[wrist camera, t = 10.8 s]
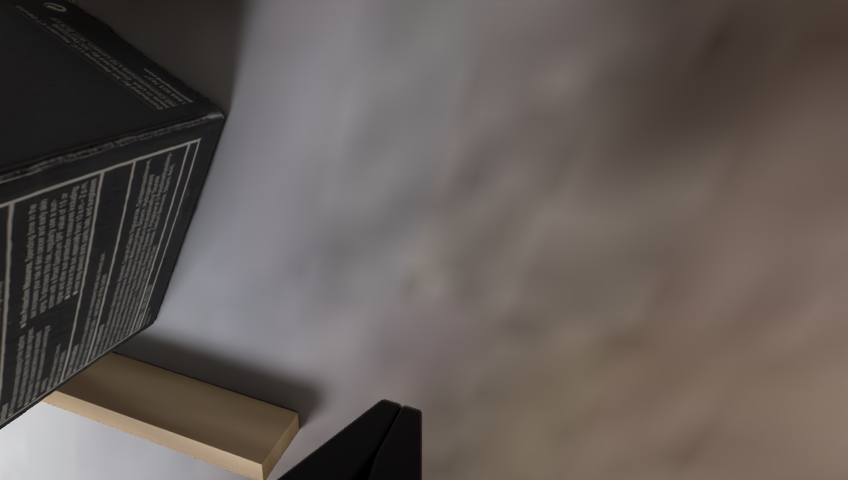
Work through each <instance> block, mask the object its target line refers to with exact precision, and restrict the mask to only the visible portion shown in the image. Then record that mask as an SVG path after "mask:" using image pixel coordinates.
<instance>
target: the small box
mask: <svg viewBox="0 0 848 480" xmlns="http://www.w3.org/2000/svg"><path fill="white" fill-rule="evenodd" d="M223 122H224V116H223V114H222V113H221V111H220V110H219V109H218V108H217V107H216V106H215V105H213V104H212V103H211V102H210V101H209V100H208V99H207V98H205V97H203V96H201V95H200V94H199V93H195V92H194V91H192V90H191V89H189V88H188V87H186V86H185V85H184V84H183V83H182V81H180V80H177V79H175V78H174V77H173V76H171V75H170V74H168V73H167V72H166V71H164V70H163V69H161V68H160V67H159V66H157V65H156V64H155V63H153V62H152V61H150V60H149V59H148V58H146V57H145V56H143V55H142V54H141V53H139V52H138V51H137V50H135V49H134V48H133V47H132V46H130V45H129V44H127V43H126V42H124V41H123V40H122V39H120V38H119V37H117V36H116V35H115V34H113V33H112V32H111V31H110V30H109V29H108V28H107V26H106V25H104V24H101V23H100V22H99V21H97V20H96V19H94V18H92V17H91V16H89V15H88V14H86V13H85V12H83V11H82V10H80V9H78V8H76V7H75V6H74V5H72V4H71V3H69V2H68V1H66V0H0V429H2V428H3V427H5V426H6V425H7V424H9V423H10V422H12V421H13V420H15V419H16V418H18V417H19V416H20V415H22V414H23V413H25V412H26V411H27V410H29V409H30V408H31V407H33V406H34V405H36V404H37V403H39V402H40V401H41V400H43V399H44V398H46V397H47V396H49V395H50V394H52V393H53V392H54V391H56V390H57V389H59V388H60V387H62V386H63V385H65V384H66V383H67V382H69V381H70V380H71V379H72V378H74V377H75V376H77V375H78V374H80V373H81V372H83V371H84V370H86V369H87V368H89V367H90V366H91V365H93V364H94V363H96V362H97V361H98V360H100V359H101V358H102V357H104V356H106V355H107V354H109V353H110V352H111V351H113V350H115V349H116V348H117V347H119V346H120V345H122V344H124V343H125V342H127V341H128V340H129V339H131V338H132V337H134V336H135V335H137V334H138V333H140V332H141V331H143V330H145V329H146V328H148V327H149V326H151V325H152V324H153V323H154V321H155V317H156V314H157V312H158V309H159V306H160V304H161V301H162V298H163V295H164V292H165V289H166V286H167V284H168V281H169V278H170V275H171V272H172V269H173V266H174V263H175V260H176V258H177V255H178V252H179V249H180V246H181V243H182V240H183V237H184V234H185V231H186V229H187V226H188V223H189V220H190V217H191V214H192V212H193V209H194V206H195V202H196V200H197V197H198V194H199V191H200V188H201V185H202V182H203V180H204V177H205V174H206V171H207V168H208V166H209V162H210V159H211V156H212V153H213V151H214V147H215V144H216V142H217V138H218V135H219V132H220V129H221V126H222V124H223Z"/></svg>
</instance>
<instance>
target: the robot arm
mask: <svg viewBox="0 0 848 480" xmlns="http://www.w3.org/2000/svg"><path fill="white" fill-rule="evenodd" d="M277 480H422V412H421V411H420V410H419V409H416V408H412V407H409V406H403V407H402V406H401V405H400V404H399V403H396V402H393V401H389V400H386V399H384V400H381V401H379V402H378V403H377V404H375V405H374V406H373V407H371V408H370V409H369V410H367V411H366V412H365V413H364V414H362V415H361V416H360V417H358V418H357V419H356V420H354V421H353V422H352V423H350V424H349V425H348V426H347V427H345V428H344V429H343V430H341V431H340V432H339V433H337V434H336V435H335V436H333V437H332V438H331V439H330V440H328V441H327V442H326V443H324V444H323V445H322V446H320V447H319V448H318V449H317V450H315V451H314V452H313V453H311V454H310V455H309V456H307V457H306V458H305V459H303V460H302V461H301V462H300V463H298V464H297V465H296V466H294V467H293V468H292V469H290V470H289V471H288V472H286V473H285V474H284V475H283V476H281V477H280V478H279V479H277Z"/></svg>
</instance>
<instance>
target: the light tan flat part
mask: <svg viewBox="0 0 848 480" xmlns="http://www.w3.org/2000/svg"><path fill="white" fill-rule="evenodd" d="M41 401H42V402H45V403H48V404H50V405H53V406H56V407H59V408H61V409H64V410H67V411H69V412H72V413H75V414H78V415H80V416H83V417H86V418H88V419H91V420H94V421H97V422H99V423H102V424H105V425H107V426H110V427H113V428H116V429H118V430H121V431H124V432H126V433H129V434H132V435H135V436H137V437H140V438H143V439H146V440H148V441H151V442H154V443H156V444H159V445H162V446H165V447H167V448H170V449H173V450H175V451H178V452H181V453H184V454H186V455H189V456H192V457H194V458H197V459H200V460H203V461H205V462H208V463H211V464H213V465H216V466H219V467H222V468H224V469H227V470H230V471H232V472H235V473H238V474H241V475H243V476H246V477H249V478H251V479H254V480H266V479H267V477H268V476H269V474H270V473H271V471H272V470H273V468H274V467H275V465H276V464H277V462H278V461H279V459H280V458H281V456H282V455H283V453H284V452H285V450H286V449H287V448H288V446H289V445H290V443H291V442H292V440H293V439H294V437H295V436H296V434H297V433H298V431H299V420H298V413H296V412H293V411H290V410H287V409H284V408H281V407H278V406H275V405H272V404H269V403H266V402H263V401H260V400H257V399H254V398H250V397H247V396H244V395H241V394H238V393H235V392H232V391H229V390H226V389H223V388H220V387H217V386H214V385H211V384H208V383H205V382H201V381H198V380H195V379H192V378H189V377H186V376H183V375H180V374H177V373H174V372H171V371H168V370H165V369H162V368H159V367H155V366H152V365H149V364H146V363H143V362H140V361H137V360H134V359H131V358H128V357H125V356H122V355H119V354H116V353H113V352H110V353H109V354H107V355H106V356H104V357H102V358H101V359H100V360H98V361H97V362H96V363H94V364H93V365H91V366H90V367H89V368H87V369H86V370H84V371H83V372H81V373H80V374H78V375H77V376H75V377H74V378H72V379H71V380H70V381H69V382H67V383H66V384H65V385H63V386H62V387H60V388H59V389H57V390H56V391H54V392H53V393H52V394H50V395H49V396H47V397H46V398H44V399H43V400H41Z"/></svg>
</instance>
